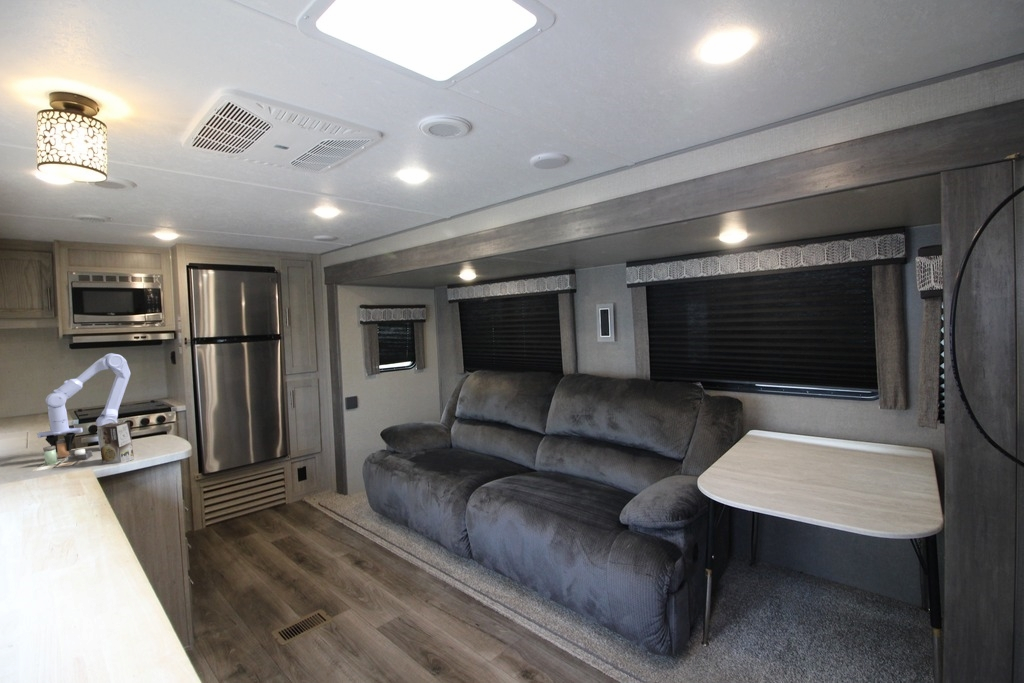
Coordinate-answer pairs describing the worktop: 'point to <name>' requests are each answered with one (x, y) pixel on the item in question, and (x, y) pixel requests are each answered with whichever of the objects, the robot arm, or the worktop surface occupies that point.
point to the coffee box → (115, 442)
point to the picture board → (67, 461)
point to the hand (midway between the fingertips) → (63, 451)
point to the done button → (79, 451)
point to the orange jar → (61, 448)
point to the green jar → (50, 455)
